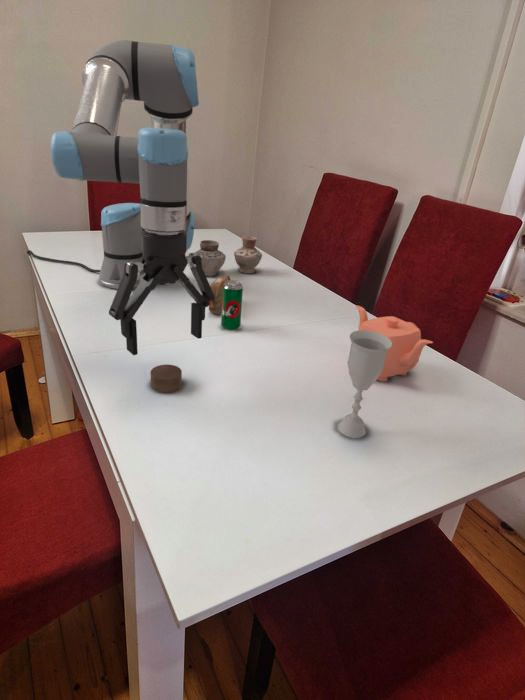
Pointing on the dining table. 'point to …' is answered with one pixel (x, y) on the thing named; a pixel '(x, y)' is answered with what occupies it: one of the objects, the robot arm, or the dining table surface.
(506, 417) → the dining table surface
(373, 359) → the chalice
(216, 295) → the bread slice
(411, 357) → the teapot
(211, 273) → the pottery
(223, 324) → the soda can
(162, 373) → the brown short cylinder
